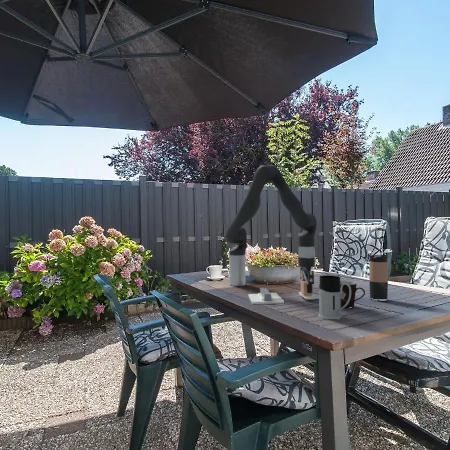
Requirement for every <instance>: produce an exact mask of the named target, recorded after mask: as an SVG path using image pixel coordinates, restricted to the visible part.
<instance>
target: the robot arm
mask: <svg viewBox="0 0 450 450" xmlns="http://www.w3.org/2000/svg"><path fill="white" fill-rule="evenodd" d="M266 184H267V185H268V184H272V185H274V187H276V190H278V194H279V197H280V200H281V203H282V204H283V206H284V207H285V208H286V210H287V211H288V212H289V213H290V215H291V218H292V219H293V221H294V223H295V224H296V226H297V227H299V228H300V229H302V230H301V231H302V232H301V233H300V234H299V236H298V253H297V255H298V256H297V257H298V258H297V259H298V260H297V261H298V262H297V263H298V266H299V267H300V271H299V273H300V274H299V275H300V278H299V279H300V282H301V281H306V282H307V293H312V287H313V285H315V275H314V274H315V271H314V270H312V268H314V267H315V266H316V250H315V234H316V229H317V225H318V224H317V218H316V216H315V215H314V214H312V213H307V212H306V211H305V210H304V205H303V203H302V202H301V201H300V199H299V198H298V197H297V196H296V195H295V193H294V192H293V191H292V189H291V188H290V186H289V184H288V182H287V181H286V179H285V178H284V175H283V174H282V172H281V171H280V170H279V168H278V166H276V165H274V164H263V165H260V166H258V168H257V169H256V171H255V173H254V176H253V179H252V181H251V185H250V187H249V189H248V191H247V193H246V195H245V197H244V199H243V201H242V203H241V205H240V207H239V209H238V211H237V213H236V215H235V217H234V218H233V220H232V221H231V223H230V224H229V226H228V227H227V230H226V233H225V240H226V242H227V243H229V244H235V246H234V247H232V248H231V249H229V252H228V258H229V259H228V260H229V261H228V263H229V266H228V267H229V268H228V269H229V271H228V272H229V274H228V275H229V286H232V287H238V286H239V287H243V286H245V285H246V251H247V240H248V239H247V230H246V228H245V227H244V225H245V224H247V223H248V222H249V221H250V220H252V219H253V218H254V217H255V216H256V214H257V213H258V210H259V208H260V207H261V201H262V200H261V194H262V191H263V190H264V187H265V185H266Z"/></svg>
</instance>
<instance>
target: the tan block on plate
mask: <svg viewBox="0 0 450 450" xmlns="http://www.w3.org/2000/svg"><path fill="white" fill-rule="evenodd" d="M313 287H314V286H312V293H307V282H306V281H301V280H300V291H299V292H298V294H299V295H300V296H301V297H302V298H304V299H305V300H315V299H316V297H315V296H314V295H313V292H314V291H313Z"/></svg>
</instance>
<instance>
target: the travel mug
mask: <svg viewBox="0 0 450 450" xmlns="http://www.w3.org/2000/svg"><path fill="white" fill-rule="evenodd" d="M388 263H389V262H388V255H381V254H380V255H379V254H378V255H377V254H376V255H375V254H373V255H372V254H371V255H369V263H368V264H369V266H368V267H369V268H368V270H369V273H368V274H369V276H368V279H369V281H368V282H369V299H370V298H373V299H387V300H388V292H389V290H388V289H389V287H388V286H389V279H388V278H389V276H388V275H389V274H388V273H389V270H388V267H389V266H388Z"/></svg>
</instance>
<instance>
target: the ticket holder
mask: <svg viewBox="0 0 450 450" xmlns="http://www.w3.org/2000/svg"><path fill="white" fill-rule="evenodd" d="M267 288H268V287H260V288H259V292H257V293H248V295H247V296H248V298H249V300H250V303H251V304H252V305H267V304H268V305H269V304H270V305H271V304H272V305H273V304H274V305H275V304H285V301H284V299H283V297H281V296H280V294H279V293H278V292H270V290H269V289H267Z"/></svg>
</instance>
